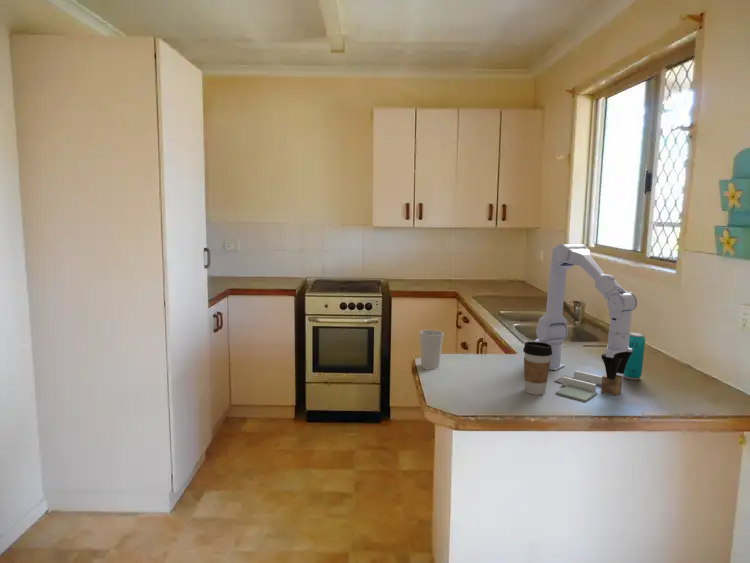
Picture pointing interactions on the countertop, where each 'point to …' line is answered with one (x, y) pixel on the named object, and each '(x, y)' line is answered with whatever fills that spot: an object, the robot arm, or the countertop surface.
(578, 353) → the countertop surface
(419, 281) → the countertop surface
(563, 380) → the white u-shaped frame
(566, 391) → the coaster
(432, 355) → the cup
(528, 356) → the coffee cup
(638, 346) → the beverage can
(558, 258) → the robot arm
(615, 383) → the block
